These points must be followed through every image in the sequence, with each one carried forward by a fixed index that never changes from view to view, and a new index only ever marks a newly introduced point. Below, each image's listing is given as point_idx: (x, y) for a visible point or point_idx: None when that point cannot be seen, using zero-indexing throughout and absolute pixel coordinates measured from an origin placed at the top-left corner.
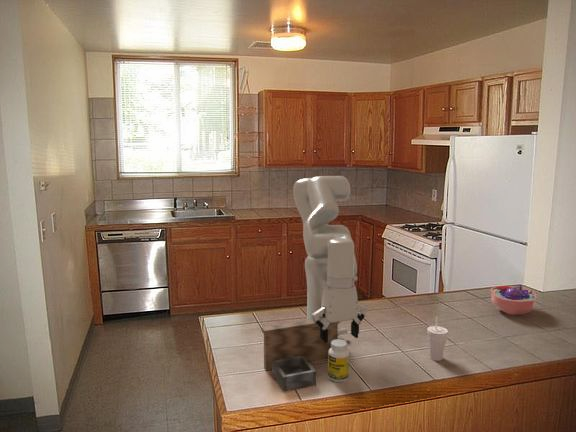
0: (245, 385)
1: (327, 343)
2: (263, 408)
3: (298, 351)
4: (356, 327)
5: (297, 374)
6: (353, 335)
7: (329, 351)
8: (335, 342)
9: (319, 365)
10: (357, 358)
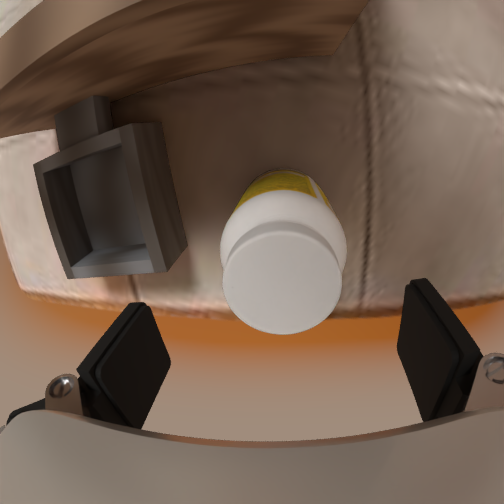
0: (22, 204)
1: (282, 34)
2: (67, 304)
3: (120, 80)
4: (425, 412)
5: (102, 275)
6: (402, 326)
7: (222, 254)
8: (256, 280)
9: (234, 99)
10: (416, 89)
